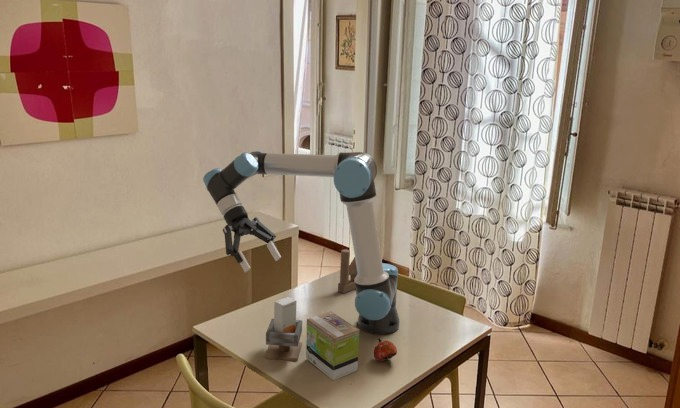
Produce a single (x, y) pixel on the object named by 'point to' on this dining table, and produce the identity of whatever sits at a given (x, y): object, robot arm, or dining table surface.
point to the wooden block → (347, 273)
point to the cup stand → (283, 343)
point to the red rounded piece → (384, 350)
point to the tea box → (332, 345)
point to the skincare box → (285, 315)
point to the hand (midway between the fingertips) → (263, 264)
